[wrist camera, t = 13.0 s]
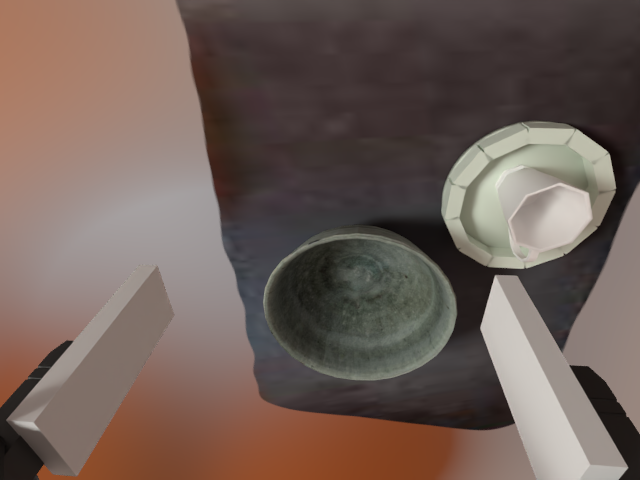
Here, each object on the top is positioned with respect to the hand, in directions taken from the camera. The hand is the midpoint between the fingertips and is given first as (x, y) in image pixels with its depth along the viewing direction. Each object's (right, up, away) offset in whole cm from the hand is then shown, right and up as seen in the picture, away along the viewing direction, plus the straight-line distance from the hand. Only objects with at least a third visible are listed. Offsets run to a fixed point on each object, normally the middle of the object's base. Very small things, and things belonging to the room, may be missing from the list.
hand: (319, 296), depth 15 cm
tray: (+22, +7, +26) cm, 35 cm away
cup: (+21, +7, +25) cm, 34 cm away
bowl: (+5, -1, +33) cm, 34 cm away
